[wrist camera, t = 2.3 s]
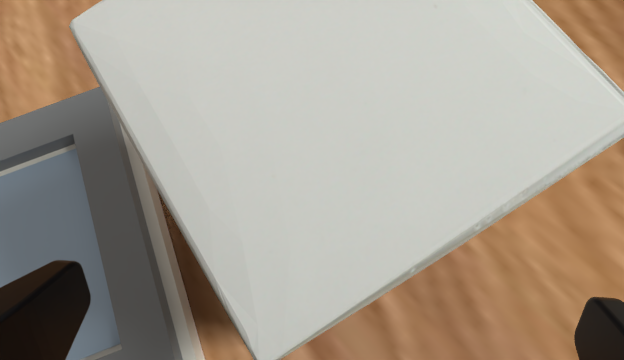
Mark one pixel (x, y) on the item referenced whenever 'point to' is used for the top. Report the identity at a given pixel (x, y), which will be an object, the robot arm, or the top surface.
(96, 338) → the grey square tray
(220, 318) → the top surface
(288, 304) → the supplement box
